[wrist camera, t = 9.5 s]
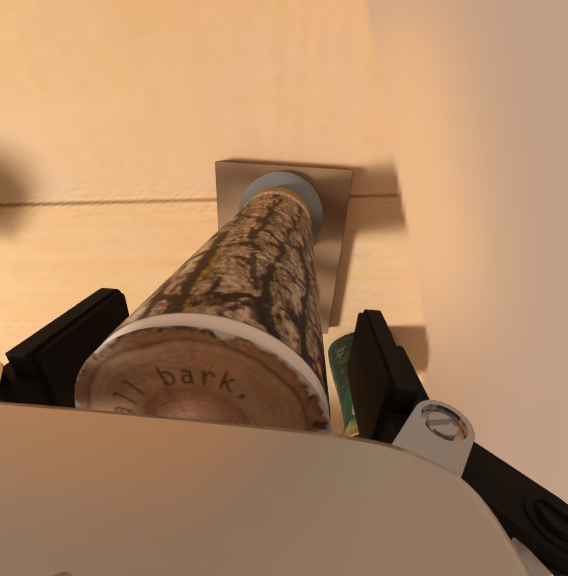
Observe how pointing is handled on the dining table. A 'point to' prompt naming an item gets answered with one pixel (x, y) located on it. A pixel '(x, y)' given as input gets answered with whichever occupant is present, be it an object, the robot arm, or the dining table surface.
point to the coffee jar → (343, 381)
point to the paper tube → (226, 331)
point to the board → (318, 197)
